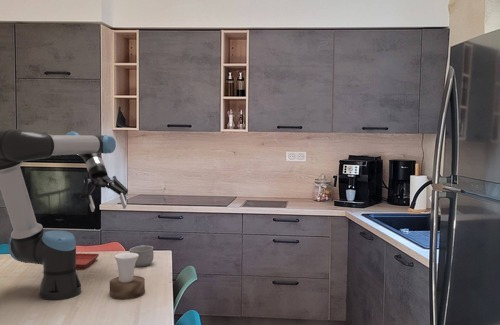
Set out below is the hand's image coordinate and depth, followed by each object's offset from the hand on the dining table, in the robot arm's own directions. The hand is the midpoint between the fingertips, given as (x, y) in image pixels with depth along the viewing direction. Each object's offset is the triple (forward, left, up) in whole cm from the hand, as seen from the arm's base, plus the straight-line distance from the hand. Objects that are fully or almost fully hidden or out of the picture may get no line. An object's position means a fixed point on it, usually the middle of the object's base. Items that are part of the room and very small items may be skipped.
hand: (109, 208), depth 208 cm
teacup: (+22, +10, -30) cm, 39 cm away
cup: (-6, -22, -25) cm, 33 cm away
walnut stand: (-6, -22, -30) cm, 37 cm away
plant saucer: (-1, +31, -30) cm, 44 cm away
